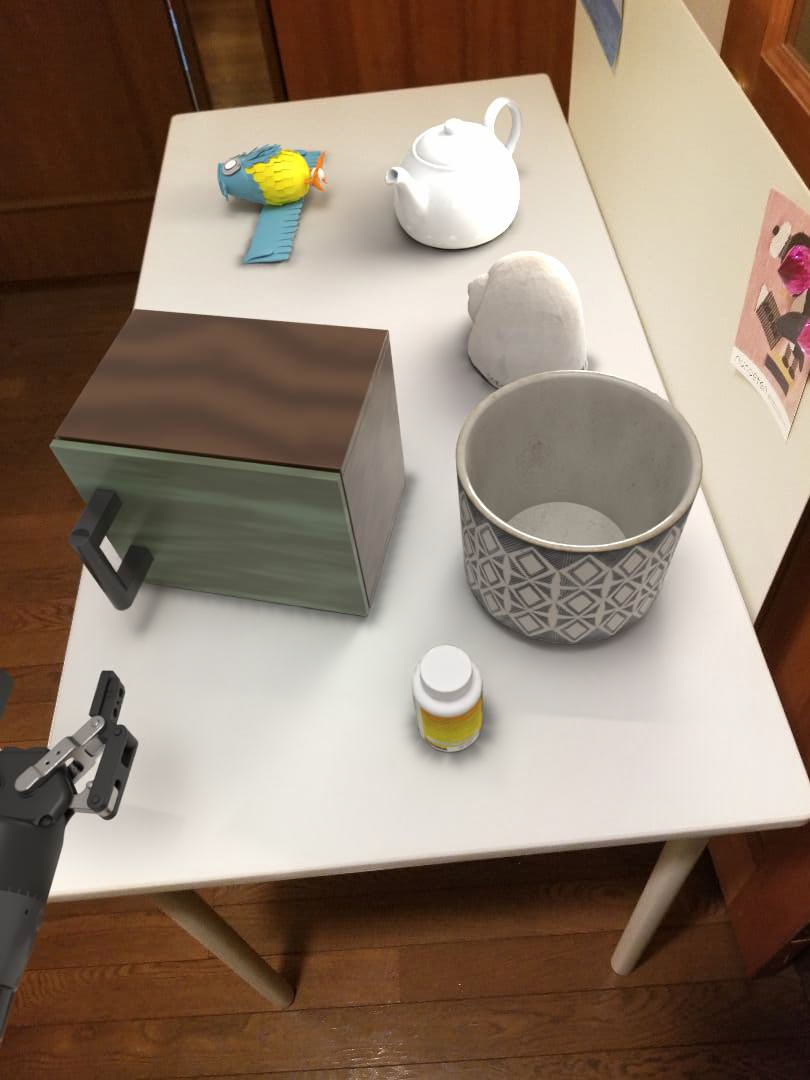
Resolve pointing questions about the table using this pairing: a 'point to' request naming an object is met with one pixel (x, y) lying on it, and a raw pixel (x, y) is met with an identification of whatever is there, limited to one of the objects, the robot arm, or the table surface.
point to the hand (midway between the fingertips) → (57, 674)
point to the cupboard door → (213, 527)
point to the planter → (573, 501)
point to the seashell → (525, 319)
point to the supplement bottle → (448, 698)
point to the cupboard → (257, 405)
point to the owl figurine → (272, 193)
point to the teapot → (458, 182)
